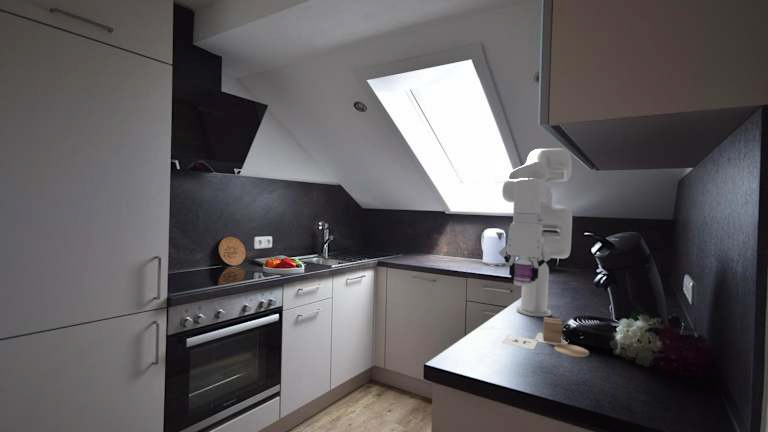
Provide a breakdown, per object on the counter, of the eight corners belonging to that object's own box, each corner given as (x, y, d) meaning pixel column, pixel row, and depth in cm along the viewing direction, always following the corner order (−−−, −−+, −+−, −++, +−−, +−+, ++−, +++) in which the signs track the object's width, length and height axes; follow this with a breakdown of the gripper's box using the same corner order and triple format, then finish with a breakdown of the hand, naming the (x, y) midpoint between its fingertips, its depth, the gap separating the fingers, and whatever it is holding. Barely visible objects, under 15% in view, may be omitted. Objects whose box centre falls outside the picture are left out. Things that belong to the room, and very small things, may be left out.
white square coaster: (508, 335, 124) (508, 334, 124) (538, 341, 119) (538, 340, 119) (501, 343, 116) (501, 342, 116) (533, 350, 111) (533, 349, 111)
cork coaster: (556, 343, 118) (556, 341, 118) (589, 349, 113) (589, 348, 113) (552, 352, 110) (552, 351, 110) (588, 359, 105) (588, 358, 105)
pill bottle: (535, 287, 114) (536, 254, 114) (517, 286, 115) (518, 254, 114) (528, 283, 120) (530, 252, 119) (511, 282, 120) (512, 251, 120)
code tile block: (538, 333, 127) (538, 332, 127) (568, 339, 122) (568, 338, 122) (534, 341, 119) (534, 340, 119) (566, 347, 114) (566, 346, 114)
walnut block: (542, 335, 124) (543, 317, 124) (559, 338, 122) (560, 319, 122) (543, 340, 119) (544, 321, 119) (561, 343, 117) (562, 323, 117)
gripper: (558, 220, 115) (555, 281, 116) (500, 217, 124) (497, 274, 125) (555, 221, 109) (552, 285, 110) (494, 218, 117) (491, 277, 118)
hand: (523, 278), depth 117 cm, fingers closed on pill bottle, 5 cm apart
